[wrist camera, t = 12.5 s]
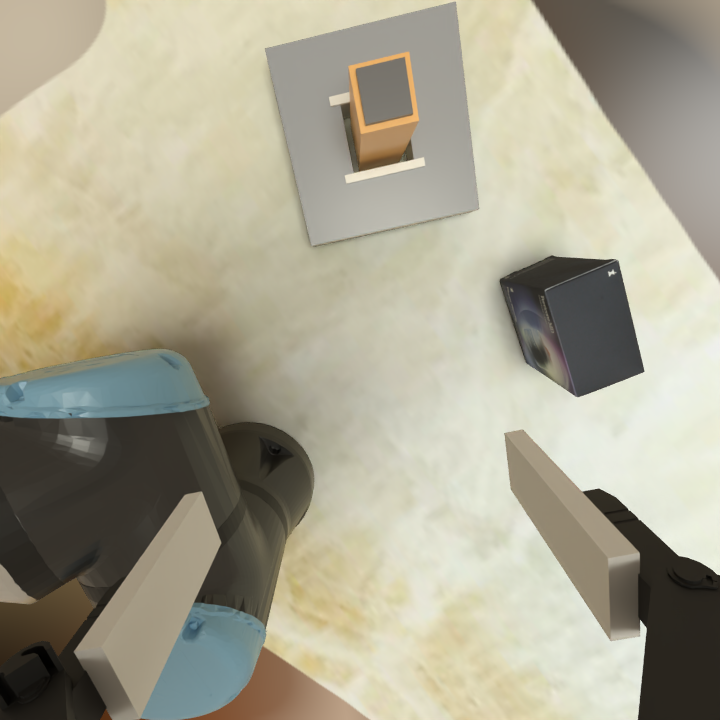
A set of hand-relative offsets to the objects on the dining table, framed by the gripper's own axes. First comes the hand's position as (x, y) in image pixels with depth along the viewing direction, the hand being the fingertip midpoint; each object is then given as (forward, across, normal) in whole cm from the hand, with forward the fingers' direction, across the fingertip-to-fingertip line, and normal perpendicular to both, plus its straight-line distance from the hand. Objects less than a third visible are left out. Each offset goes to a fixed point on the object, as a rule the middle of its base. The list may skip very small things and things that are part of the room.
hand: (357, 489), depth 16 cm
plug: (+27, +6, +19) cm, 33 cm away
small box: (+27, +20, -1) cm, 34 cm away
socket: (+27, +6, +19) cm, 33 cm away
